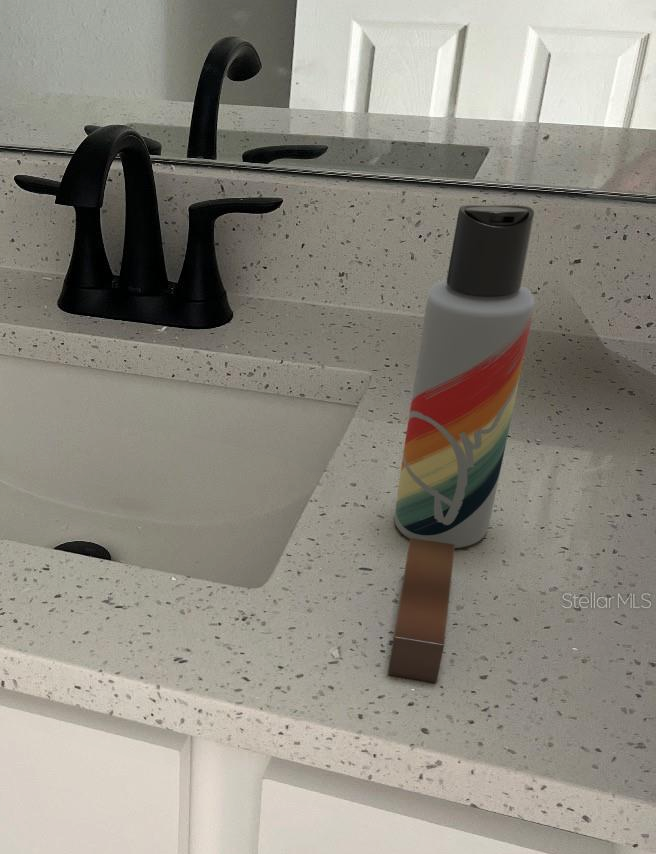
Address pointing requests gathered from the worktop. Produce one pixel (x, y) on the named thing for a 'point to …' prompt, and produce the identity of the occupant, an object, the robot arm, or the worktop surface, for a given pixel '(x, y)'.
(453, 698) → the worktop surface
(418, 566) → the walnut stick
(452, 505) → the lotion bottle
